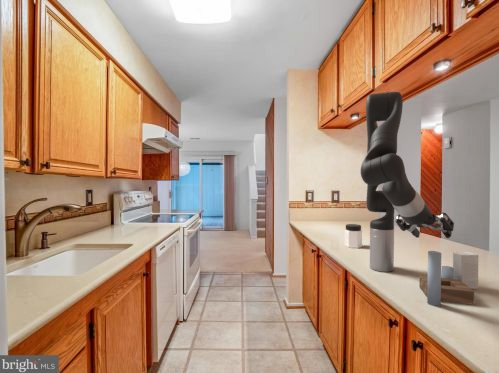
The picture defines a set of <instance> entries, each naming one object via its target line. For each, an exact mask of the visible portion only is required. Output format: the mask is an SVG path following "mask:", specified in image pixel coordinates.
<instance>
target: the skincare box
mask: <svg viewBox="0 0 499 373" xmlns="http://www.w3.org/2000/svg"><path fill="white" fill-rule="evenodd" d="M452 267H453V268H454V279H459V280H461V281H462V282H463V283H465V284H466V285H467V286H468V287H469V288H471V289H472V290H473V289H475V290H476V289H477V290H478V289H479V254H477V253H474V252H471V251H454V252H453V253H452Z"/></svg>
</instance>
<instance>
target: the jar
mask: <svg viewBox="0 0 499 373" xmlns="http://www.w3.org/2000/svg"><path fill="white" fill-rule="evenodd" d="M344 246H345V247H347V248H351V249H360V248H362V247H363V230H362V225H361V224H356V223H348V224H345V229H344Z"/></svg>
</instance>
